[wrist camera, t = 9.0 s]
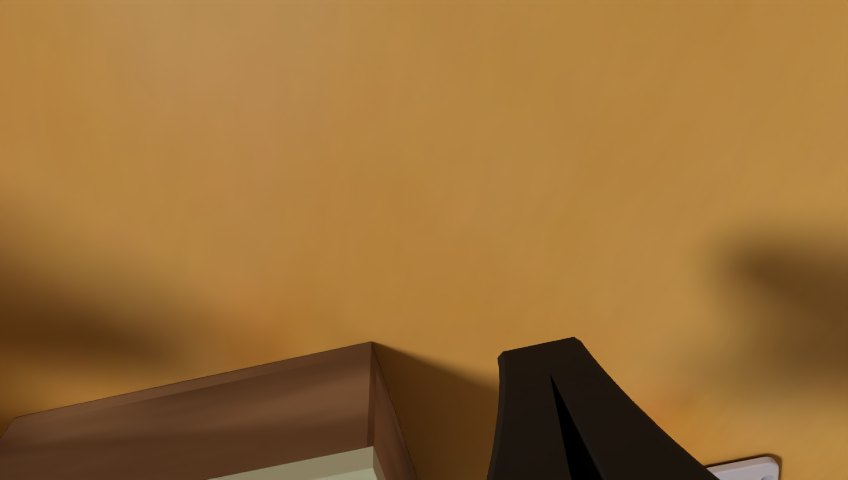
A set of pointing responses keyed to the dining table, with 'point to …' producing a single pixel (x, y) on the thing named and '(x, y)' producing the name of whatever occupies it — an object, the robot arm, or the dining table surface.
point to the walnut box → (217, 425)
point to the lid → (321, 468)
